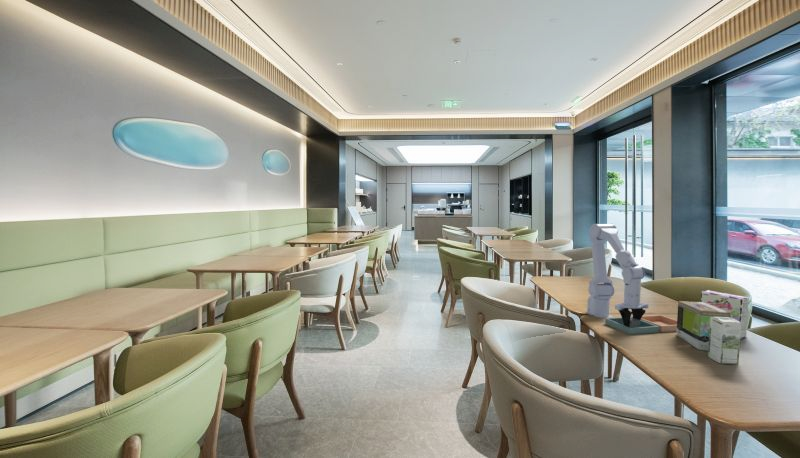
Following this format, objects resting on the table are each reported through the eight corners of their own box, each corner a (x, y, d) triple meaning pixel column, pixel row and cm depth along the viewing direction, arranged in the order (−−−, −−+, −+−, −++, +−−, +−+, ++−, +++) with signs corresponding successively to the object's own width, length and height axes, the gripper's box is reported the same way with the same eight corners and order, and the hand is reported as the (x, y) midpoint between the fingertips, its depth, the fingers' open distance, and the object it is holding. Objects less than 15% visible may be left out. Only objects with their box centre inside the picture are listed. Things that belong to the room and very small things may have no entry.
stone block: (622, 326, 155) (622, 317, 155) (630, 325, 156) (630, 316, 156) (631, 330, 150) (632, 320, 150) (639, 329, 151) (640, 320, 151)
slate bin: (605, 325, 159) (605, 318, 158) (631, 323, 161) (632, 316, 161) (630, 335, 145) (630, 328, 145) (658, 333, 148) (659, 326, 148)
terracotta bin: (634, 323, 161) (634, 316, 161) (660, 321, 164) (660, 314, 164) (661, 333, 148) (661, 326, 148) (689, 331, 150) (689, 324, 150)
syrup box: (725, 357, 124) (727, 316, 123) (739, 365, 118) (741, 321, 118) (707, 356, 125) (709, 315, 124) (720, 364, 119) (722, 321, 118)
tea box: (730, 352, 128) (732, 312, 128) (698, 350, 130) (699, 310, 130) (703, 337, 143) (705, 301, 142) (675, 336, 145) (676, 300, 144)
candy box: (698, 329, 153) (700, 290, 152) (705, 327, 156) (707, 289, 155) (739, 339, 141) (741, 298, 140) (747, 337, 143) (749, 296, 142)
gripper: (624, 297, 147) (623, 329, 148) (655, 295, 150) (653, 327, 150) (611, 293, 154) (610, 324, 155) (640, 291, 157) (639, 322, 157)
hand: (631, 325), depth 153 cm, fingers closed on stone block, 4 cm apart
